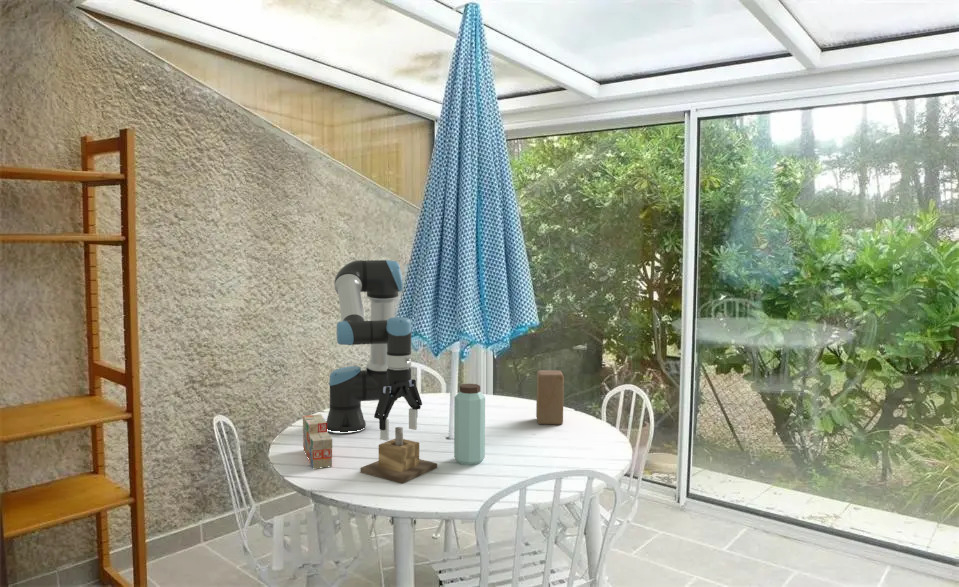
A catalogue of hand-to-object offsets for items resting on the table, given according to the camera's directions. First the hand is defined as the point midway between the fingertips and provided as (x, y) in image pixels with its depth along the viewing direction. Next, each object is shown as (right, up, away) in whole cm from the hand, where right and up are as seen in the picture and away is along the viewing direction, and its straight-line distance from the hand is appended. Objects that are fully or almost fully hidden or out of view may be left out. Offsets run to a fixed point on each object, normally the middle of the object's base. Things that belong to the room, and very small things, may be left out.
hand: (399, 434), depth 214 cm
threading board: (0, -11, +1) cm, 11 cm away
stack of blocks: (-28, -11, +12) cm, 32 cm away
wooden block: (+53, -7, +59) cm, 80 cm away
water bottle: (+22, -11, +10) cm, 26 cm away
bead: (0, -10, 0) cm, 10 cm away
